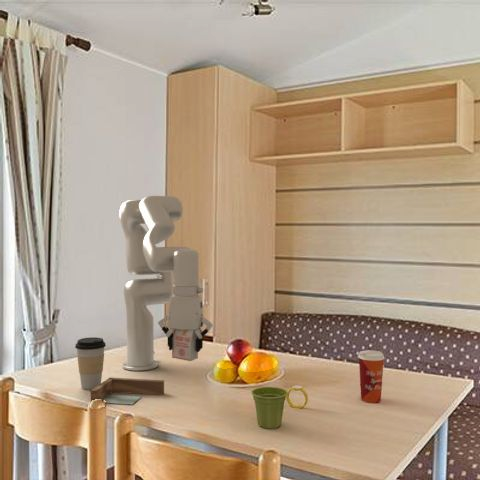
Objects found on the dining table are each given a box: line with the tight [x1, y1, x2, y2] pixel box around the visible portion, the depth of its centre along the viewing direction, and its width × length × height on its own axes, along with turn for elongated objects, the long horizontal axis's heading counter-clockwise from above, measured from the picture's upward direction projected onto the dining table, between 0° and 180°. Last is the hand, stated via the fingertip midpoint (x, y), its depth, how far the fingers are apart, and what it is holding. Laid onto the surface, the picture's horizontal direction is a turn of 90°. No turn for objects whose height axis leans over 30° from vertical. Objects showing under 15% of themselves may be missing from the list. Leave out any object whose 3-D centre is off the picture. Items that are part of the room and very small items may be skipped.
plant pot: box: [251, 386, 288, 430], centre depth 146 cm, size 9×9×9 cm
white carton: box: [171, 329, 199, 362], centre depth 167 cm, size 4×7×10 cm, turn 59°
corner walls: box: [90, 377, 165, 406], centre depth 167 cm, size 14×18×4 cm
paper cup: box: [357, 349, 385, 404], centre depth 165 cm, size 8×8×14 cm
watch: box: [285, 384, 309, 410], centre depth 159 cm, size 6×3×6 cm, turn 66°
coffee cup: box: [74, 336, 106, 391], centre depth 179 cm, size 9×9×15 cm
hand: (185, 349), depth 167 cm, fingers closed on white carton, 7 cm apart
